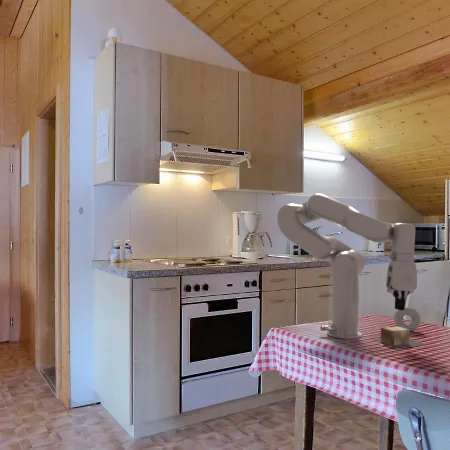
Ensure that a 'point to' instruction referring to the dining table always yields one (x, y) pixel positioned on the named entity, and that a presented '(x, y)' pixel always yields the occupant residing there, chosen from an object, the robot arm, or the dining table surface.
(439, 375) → the dining table surface
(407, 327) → the donut
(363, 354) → the dining table surface
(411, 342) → the mat
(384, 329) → the tall block
